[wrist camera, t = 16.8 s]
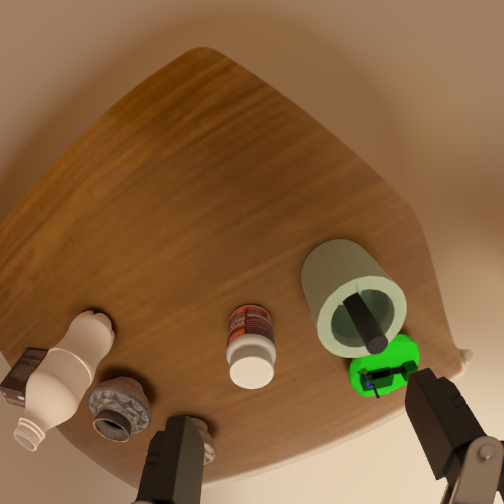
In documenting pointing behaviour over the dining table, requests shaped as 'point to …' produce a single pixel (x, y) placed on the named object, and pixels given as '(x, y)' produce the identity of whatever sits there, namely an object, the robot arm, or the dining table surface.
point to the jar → (343, 285)
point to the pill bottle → (251, 347)
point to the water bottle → (63, 377)
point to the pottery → (130, 413)
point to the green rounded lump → (385, 367)
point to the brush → (365, 324)
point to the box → (21, 376)
